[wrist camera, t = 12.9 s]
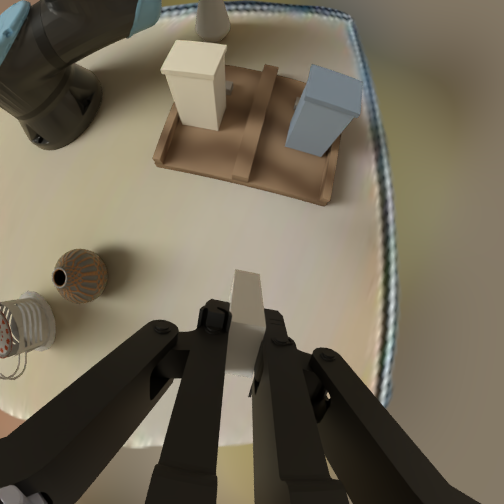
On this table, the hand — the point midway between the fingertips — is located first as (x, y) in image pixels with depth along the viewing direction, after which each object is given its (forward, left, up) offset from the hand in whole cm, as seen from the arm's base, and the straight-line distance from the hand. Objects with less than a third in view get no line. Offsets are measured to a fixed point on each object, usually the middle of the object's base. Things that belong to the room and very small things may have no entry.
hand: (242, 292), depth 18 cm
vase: (-11, -17, -19) cm, 28 cm away
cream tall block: (-21, +7, -17) cm, 28 cm away
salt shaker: (-37, +17, -19) cm, 44 cm away
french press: (-10, -32, -19) cm, 39 cm away
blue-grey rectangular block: (-11, +17, -17) cm, 26 cm away
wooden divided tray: (-17, +13, -19) cm, 28 cm away
